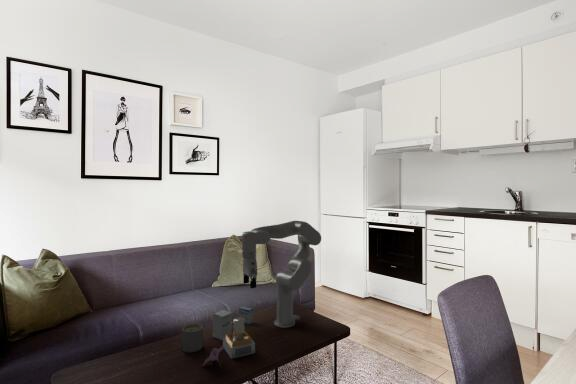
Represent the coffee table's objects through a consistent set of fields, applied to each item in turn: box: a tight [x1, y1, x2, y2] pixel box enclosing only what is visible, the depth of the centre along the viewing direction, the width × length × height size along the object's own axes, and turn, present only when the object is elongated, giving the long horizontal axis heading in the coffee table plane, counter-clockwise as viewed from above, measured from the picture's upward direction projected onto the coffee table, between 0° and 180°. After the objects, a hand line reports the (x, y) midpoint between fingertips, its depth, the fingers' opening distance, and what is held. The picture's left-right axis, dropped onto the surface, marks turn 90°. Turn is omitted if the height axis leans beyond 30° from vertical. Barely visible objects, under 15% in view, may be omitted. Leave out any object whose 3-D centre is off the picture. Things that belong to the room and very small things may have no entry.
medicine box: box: [238, 305, 254, 326], centre depth 197 cm, size 8×4×9 cm, turn 62°
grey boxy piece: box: [222, 330, 256, 360], centre depth 163 cm, size 12×14×6 cm
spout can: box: [230, 316, 245, 341], centre depth 163 cm, size 8×6×10 cm
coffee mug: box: [181, 323, 204, 353], centre depth 167 cm, size 13×10×10 cm
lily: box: [201, 344, 225, 369], centre depth 148 cm, size 12×12×10 cm
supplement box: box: [212, 309, 233, 341], centre depth 178 cm, size 7×7×13 cm
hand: (249, 285), depth 180 cm, fingers open, 9 cm apart
